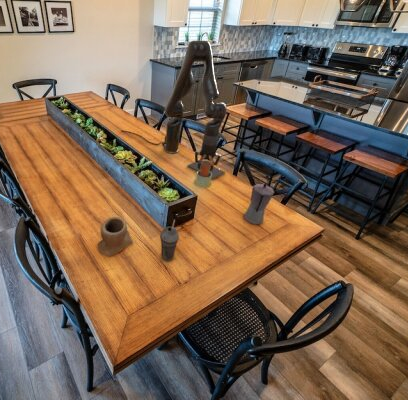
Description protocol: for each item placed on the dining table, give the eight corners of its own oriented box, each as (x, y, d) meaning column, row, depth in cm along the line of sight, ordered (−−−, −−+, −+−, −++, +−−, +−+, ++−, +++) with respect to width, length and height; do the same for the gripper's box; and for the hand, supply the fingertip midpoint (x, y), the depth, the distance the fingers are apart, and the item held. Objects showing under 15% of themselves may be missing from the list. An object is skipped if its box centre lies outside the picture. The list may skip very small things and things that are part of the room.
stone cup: (109, 264, 105) (106, 236, 96) (93, 246, 112) (90, 219, 103) (140, 246, 113) (140, 219, 104) (123, 231, 120) (122, 204, 111)
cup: (192, 182, 156) (193, 173, 152) (201, 177, 161) (203, 168, 157) (203, 189, 151) (205, 179, 147) (213, 183, 156) (215, 174, 152)
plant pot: (196, 179, 154) (198, 162, 148) (202, 176, 158) (205, 159, 151) (203, 183, 151) (207, 166, 145) (210, 180, 155) (213, 163, 148)
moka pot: (264, 212, 136) (276, 179, 124) (263, 232, 125) (276, 197, 113) (245, 208, 139) (255, 175, 127) (242, 226, 127) (253, 192, 115)
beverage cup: (157, 250, 112) (160, 213, 100) (175, 250, 113) (179, 213, 101) (159, 264, 106) (162, 226, 94) (177, 263, 107) (182, 226, 95)
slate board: (187, 167, 170) (187, 165, 169) (199, 161, 177) (199, 159, 176) (212, 180, 159) (213, 178, 158) (224, 173, 166) (225, 171, 165)
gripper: (223, 140, 142) (218, 168, 152) (197, 137, 144) (192, 164, 154) (223, 146, 136) (217, 175, 147) (195, 142, 138) (191, 171, 149)
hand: (204, 169), depth 150 cm, fingers closed on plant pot, 6 cm apart
